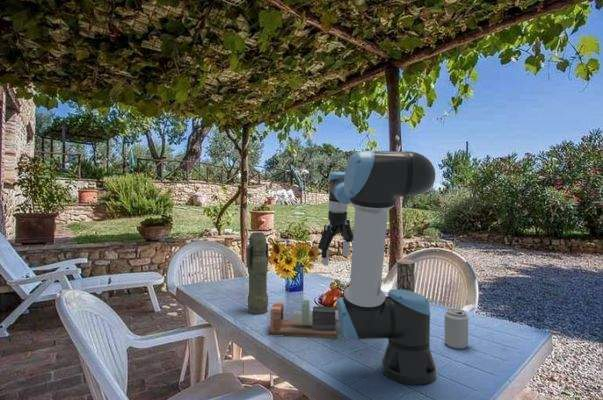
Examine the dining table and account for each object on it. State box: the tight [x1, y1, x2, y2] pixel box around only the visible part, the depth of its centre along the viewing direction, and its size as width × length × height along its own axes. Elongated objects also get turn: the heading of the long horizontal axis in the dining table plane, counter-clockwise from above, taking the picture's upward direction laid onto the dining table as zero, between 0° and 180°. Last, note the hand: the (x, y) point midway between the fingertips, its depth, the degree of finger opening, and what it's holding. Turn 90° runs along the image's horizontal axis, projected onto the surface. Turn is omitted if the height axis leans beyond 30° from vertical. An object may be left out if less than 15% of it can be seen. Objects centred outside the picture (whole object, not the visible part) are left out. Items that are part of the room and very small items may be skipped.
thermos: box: [245, 232, 270, 316], centre depth 156 cm, size 9×12×35 cm
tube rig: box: [268, 301, 338, 339], centre depth 134 cm, size 12×25×9 cm, turn 84°
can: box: [444, 308, 469, 350], centre depth 121 cm, size 8×8×12 cm
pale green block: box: [292, 299, 313, 325], centre depth 134 cm, size 4×16×8 cm, turn 84°
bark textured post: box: [396, 258, 416, 292], centre depth 143 cm, size 7×7×25 cm
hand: (335, 260), depth 145 cm, fingers open, 13 cm apart
